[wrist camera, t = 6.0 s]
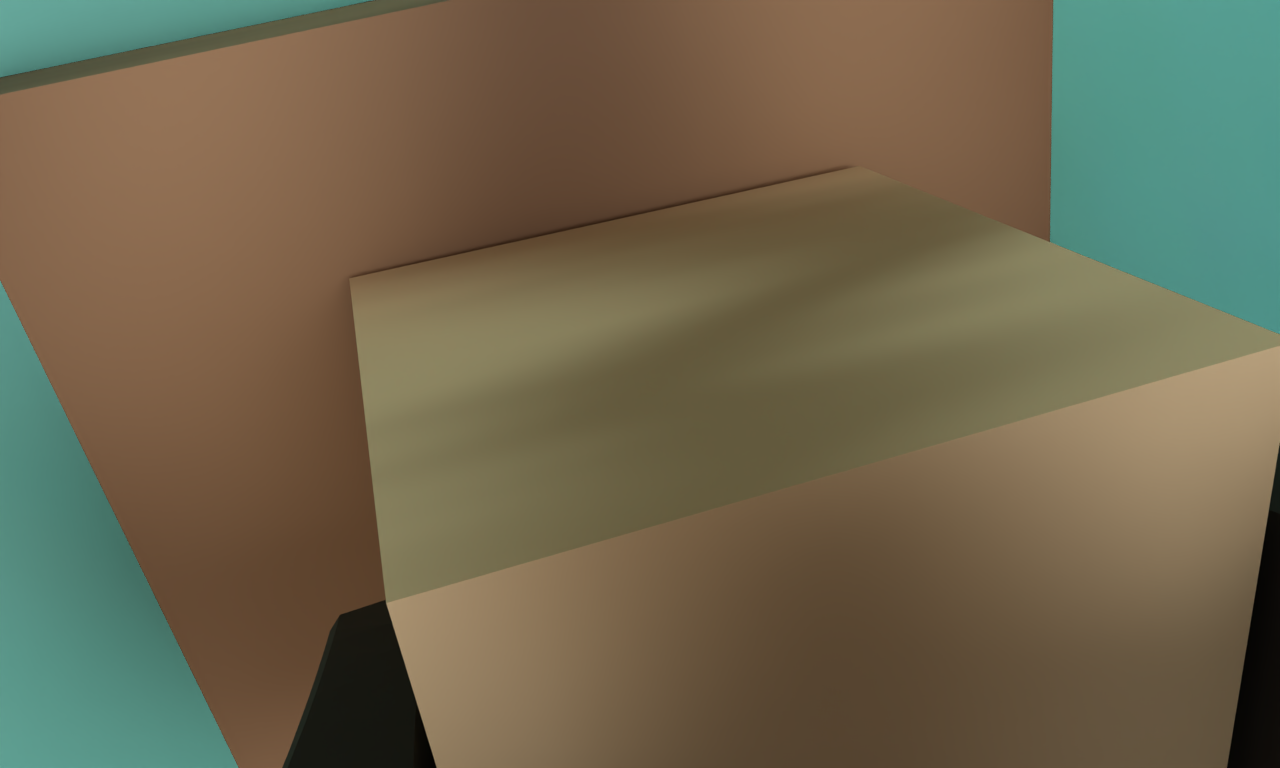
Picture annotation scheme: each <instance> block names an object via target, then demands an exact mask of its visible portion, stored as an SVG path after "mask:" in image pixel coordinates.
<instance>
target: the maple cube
mask: <svg viewBox="0 0 1280 768" xmlns="http://www.w3.org/2000/svg"><path fill="white" fill-rule="evenodd" d="M349 281H350V289H351V298H352V307H353V316H354V325H355V333H356V342H357V351H358V360H359V369H360V377H361V386H362V395H363V404H364V413H365V421H366V430H367V439H368V448H369V457H370V465H371V474H372V483H373V492H374V500H375V509H376V518H377V527H378V536H379V544H380V553H381V562H382V571H383V580H384V588H385V597H386V604H387V607H388V611H389V614H390V617H391V620H392V624H393V627H394V630H395V633H396V637H397V640H398V643H399V646H400V650H401V653H402V656H403V659H404V663H405V666H406V669H407V673H408V676H409V679H410V682H411V686H412V689H413V692H414V695H415V699H416V702H417V705H418V708H419V712H420V715H421V718H422V721H423V725H424V728H425V731H426V734H427V738H428V741H429V744H430V747H431V751H432V754H433V757H434V760H435V764H436V767H437V768H1227V764H1228V758H1229V752H1230V746H1231V739H1232V733H1233V727H1234V721H1235V715H1236V709H1237V702H1238V696H1239V690H1240V684H1241V678H1242V672H1243V666H1244V659H1245V653H1246V647H1247V641H1248V635H1249V629H1250V622H1251V616H1252V610H1253V604H1254V598H1255V592H1256V586H1257V579H1258V573H1259V567H1260V561H1261V555H1262V549H1263V542H1264V536H1265V530H1266V524H1267V518H1268V512H1269V506H1270V499H1271V493H1272V487H1273V481H1274V475H1275V469H1276V462H1277V456H1278V450H1279V444H1280V334H1277V333H1275V332H1272V331H1270V330H1267V329H1265V328H1262V327H1260V326H1257V325H1255V324H1252V323H1250V322H1247V321H1245V320H1242V319H1240V318H1238V317H1235V316H1233V315H1230V314H1228V313H1225V312H1223V311H1220V310H1218V309H1215V308H1213V307H1210V306H1208V305H1205V304H1203V303H1200V302H1198V301H1195V300H1193V299H1190V298H1188V297H1185V296H1183V295H1180V294H1178V293H1175V292H1173V291H1170V290H1168V289H1165V288H1163V287H1160V286H1158V285H1155V284H1153V283H1150V282H1148V281H1145V280H1143V279H1140V278H1138V277H1135V276H1133V275H1130V274H1128V273H1125V272H1123V271H1120V270H1118V269H1115V268H1113V267H1110V266H1108V265H1105V264H1103V263H1100V262H1098V261H1095V260H1093V259H1091V258H1088V257H1086V256H1083V255H1081V254H1078V253H1076V252H1073V251H1071V250H1068V249H1066V248H1063V247H1061V246H1058V245H1056V244H1053V243H1051V242H1048V241H1046V240H1043V239H1041V238H1038V237H1036V236H1033V235H1031V234H1028V233H1026V232H1023V231H1021V230H1018V229H1016V228H1013V227H1011V226H1008V225H1006V224H1003V223H1001V222H998V221H996V220H993V219H991V218H988V217H986V216H983V215H981V214H978V213H976V212H973V211H971V210H968V209H966V208H963V207H961V206H958V205H956V204H953V203H951V202H948V201H946V200H944V199H941V198H939V197H936V196H934V195H931V194H929V193H926V192H924V191H921V190H919V189H916V188H914V187H911V186H909V185H906V184H904V183H901V182H899V181H896V180H894V179H891V178H889V177H886V176H884V175H881V174H879V173H876V172H874V171H871V170H869V169H866V168H864V167H861V166H857V167H852V168H848V169H843V170H839V171H834V172H830V173H825V174H821V175H816V176H812V177H807V178H803V179H798V180H793V181H789V182H784V183H780V184H775V185H771V186H766V187H762V188H757V189H753V190H748V191H744V192H739V193H734V194H730V195H725V196H721V197H716V198H712V199H707V200H703V201H698V202H694V203H689V204H685V205H680V206H675V207H671V208H666V209H662V210H657V211H653V212H648V213H644V214H639V215H635V216H630V217H625V218H621V219H616V220H612V221H607V222H603V223H598V224H594V225H589V226H585V227H580V228H576V229H571V230H566V231H562V232H557V233H553V234H548V235H544V236H539V237H535V238H530V239H526V240H521V241H517V242H512V243H507V244H503V245H498V246H494V247H489V248H485V249H480V250H476V251H471V252H467V253H462V254H458V255H453V256H448V257H444V258H439V259H435V260H430V261H426V262H421V263H417V264H412V265H408V266H403V267H399V268H394V269H389V270H385V271H380V272H376V273H371V274H367V275H362V276H358V277H353V278H349Z"/></svg>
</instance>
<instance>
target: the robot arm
mask: <svg viewBox="0 0 1280 768" xmlns="http://www.w3.org/2000/svg"><path fill="white" fill-rule="evenodd" d="M282 768H437V767H436V764H435V760H434V757H433V754H432V751H431V747H430V744H429V741H428V738H427V734H426V731H425V728H424V725H423V721H422V718H421V715H420V712H419V708H418V705H417V702H416V699H415V695H414V692H413V689H412V686H411V682H410V679H409V676H408V673H407V669H406V666H405V663H404V659H403V656H402V653H401V650H400V646H399V643H398V640H397V637H396V633H395V630H394V627H393V624H392V620H391V617H390V614H389V611H388V607H387V604H386V600H383V601H380V602H377V603H374V604H371V605H368V606H365V607H362V608H359V609H356V610H353V611H350V612H347V613H344V614H341V615H339V617H338V619H337V620H336V622H335V623H334V625H333V627H332V628H331V630H330V632H329V636H328V639H327V643H326V646H325V649H324V652H323V656H322V659H321V662H320V665H319V668H318V671H317V674H316V677H315V680H314V683H313V686H312V689H311V692H310V695H309V698H308V701H307V703H306V706H305V709H304V712H303V714H302V717H301V720H300V723H299V725H298V728H297V731H296V733H295V736H294V739H293V742H292V744H291V747H290V750H289V752H288V755H287V757H286V759H285V762H284V764H283V767H282ZM1227 768H1280V444H1279V450H1278V456H1277V462H1276V469H1275V475H1274V481H1273V487H1272V493H1271V499H1270V506H1269V512H1268V518H1267V524H1266V530H1265V536H1264V542H1263V549H1262V555H1261V561H1260V567H1259V573H1258V579H1257V586H1256V592H1255V598H1254V604H1253V610H1252V616H1251V622H1250V629H1249V635H1248V641H1247V647H1246V653H1245V659H1244V666H1243V672H1242V678H1241V684H1240V690H1239V696H1238V702H1237V709H1236V715H1235V721H1234V727H1233V733H1232V739H1231V746H1230V752H1229V758H1228V764H1227Z"/></svg>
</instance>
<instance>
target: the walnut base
mask: <svg viewBox="0 0 1280 768" xmlns="http://www.w3.org/2000/svg"><path fill="white" fill-rule="evenodd" d="M1052 40H1053V0H374V1H369V2H364V3H359V4H354V5H349V6H344V7H340V8H335V9H330V10H325V11H320V12H315V13H311V14H306V15H301V16H296V17H291V18H286V19H282V20H277V21H272V22H267V23H262V24H257V25H253V26H248V27H243V28H238V29H233V30H228V31H224V32H219V33H214V34H209V35H204V36H199V37H194V38H190V39H185V40H180V41H175V42H170V43H165V44H161V45H156V46H151V47H146V48H141V49H136V50H132V51H127V52H122V53H117V54H112V55H107V56H103V57H98V58H93V59H88V60H83V61H78V62H74V63H69V64H64V65H59V66H54V67H49V68H45V69H40V70H35V71H30V72H25V73H20V74H15V75H11V76H6V77H1V78H0V281H1V283H2V285H3V287H4V289H5V291H6V293H7V295H8V297H9V299H10V301H11V303H12V305H13V307H14V309H15V311H16V313H17V315H18V317H19V319H20V321H21V323H22V326H23V328H24V330H25V332H26V334H27V336H28V338H29V340H30V342H31V344H32V346H33V348H34V350H35V352H36V354H37V356H38V358H39V360H40V362H41V364H42V366H43V368H44V370H45V373H46V375H47V377H48V379H49V381H50V383H51V385H52V387H53V389H54V391H55V393H56V395H57V397H58V399H59V401H60V403H61V405H62V407H63V409H64V411H65V413H66V415H67V418H68V420H69V422H70V424H71V426H72V428H73V430H74V432H75V434H76V436H77V438H78V440H79V442H80V444H81V446H82V448H83V450H84V452H85V454H86V456H87V458H88V460H89V462H90V465H91V467H92V469H93V471H94V473H95V475H96V477H97V479H98V481H99V483H100V485H101V487H102V489H103V491H104V493H105V495H106V497H107V499H108V501H109V503H110V505H111V507H112V510H113V512H114V514H115V516H116V518H117V520H118V522H119V524H120V526H121V528H122V530H123V532H124V534H125V536H126V538H127V540H128V542H129V544H130V546H131V548H132V550H133V552H134V554H135V557H136V559H137V561H138V563H139V565H140V567H141V569H142V571H143V573H144V575H145V577H146V579H147V581H148V583H149V585H150V587H151V589H152V591H153V593H154V595H155V597H156V599H157V601H158V604H159V606H160V608H161V610H162V612H163V614H164V616H165V618H166V620H167V622H168V624H169V626H170V628H171V630H172V632H173V634H174V636H175V638H176V640H177V642H178V644H179V646H180V649H181V651H182V653H183V655H184V657H185V659H186V661H187V663H188V665H189V667H190V669H191V671H192V673H193V675H194V677H195V679H196V681H197V683H198V685H199V687H200V689H201V691H202V693H203V696H204V698H205V700H206V702H207V704H208V706H209V708H210V710H211V712H212V714H213V716H214V718H215V720H216V722H217V724H218V726H219V728H220V730H221V732H222V734H223V736H224V738H225V741H226V743H227V745H228V747H229V749H230V751H231V753H232V755H233V757H234V759H235V761H236V763H237V765H238V767H239V768H282V767H283V764H284V762H285V759H286V757H287V755H288V752H289V750H290V747H291V744H292V742H293V739H294V736H295V733H296V731H297V728H298V725H299V723H300V720H301V717H302V714H303V712H304V709H305V706H306V703H307V701H308V698H309V695H310V692H311V689H312V686H313V683H314V680H315V677H316V674H317V671H318V668H319V665H320V662H321V659H322V656H323V652H324V649H325V646H326V643H327V639H328V636H329V632H330V630H331V628H332V627H333V625H334V623H335V622H336V620H337V619H338V617H339V615H341V614H344V613H347V612H350V611H353V610H356V609H359V608H362V607H365V606H368V605H371V604H374V603H377V602H380V601H383V600H386V597H385V588H384V580H383V571H382V562H381V553H380V544H379V536H378V527H377V518H376V509H375V500H374V492H373V483H372V474H371V465H370V457H369V448H368V439H367V430H366V421H365V413H364V404H363V395H362V386H361V377H360V369H359V360H358V351H357V342H356V333H355V325H354V316H353V307H352V298H351V289H350V281H349V278H353V277H358V276H362V275H367V274H371V273H376V272H380V271H385V270H389V269H394V268H399V267H403V266H408V265H412V264H417V263H421V262H426V261H430V260H435V259H439V258H444V257H448V256H453V255H458V254H462V253H467V252H471V251H476V250H480V249H485V248H489V247H494V246H498V245H503V244H507V243H512V242H517V241H521V240H526V239H530V238H535V237H539V236H544V235H548V234H553V233H557V232H562V231H566V230H571V229H576V228H580V227H585V226H589V225H594V224H598V223H603V222H607V221H612V220H616V219H621V218H625V217H630V216H635V215H639V214H644V213H648V212H653V211H657V210H662V209H666V208H671V207H675V206H680V205H685V204H689V203H694V202H698V201H703V200H707V199H712V198H716V197H721V196H725V195H730V194H734V193H739V192H744V191H748V190H753V189H757V188H762V187H766V186H771V185H775V184H780V183H784V182H789V181H793V180H798V179H803V178H807V177H812V176H816V175H821V174H825V173H830V172H834V171H839V170H843V169H848V168H852V167H857V166H861V167H864V168H866V169H869V170H871V171H874V172H876V173H879V174H881V175H884V176H886V177H889V178H891V179H894V180H896V181H899V182H901V183H904V184H906V185H909V186H911V187H914V188H916V189H919V190H921V191H924V192H926V193H929V194H931V195H934V196H936V197H939V198H941V199H944V200H946V201H948V202H951V203H953V204H956V205H958V206H961V207H963V208H966V209H968V210H971V211H973V212H976V213H978V214H981V215H983V216H986V217H988V218H991V219H993V220H996V221H998V222H1001V223H1003V224H1006V225H1008V226H1011V227H1013V228H1016V229H1018V230H1021V231H1023V232H1026V233H1028V234H1031V235H1033V236H1036V237H1038V238H1041V239H1043V240H1046V241H1048V242H1050V185H1051V112H1052Z"/></svg>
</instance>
